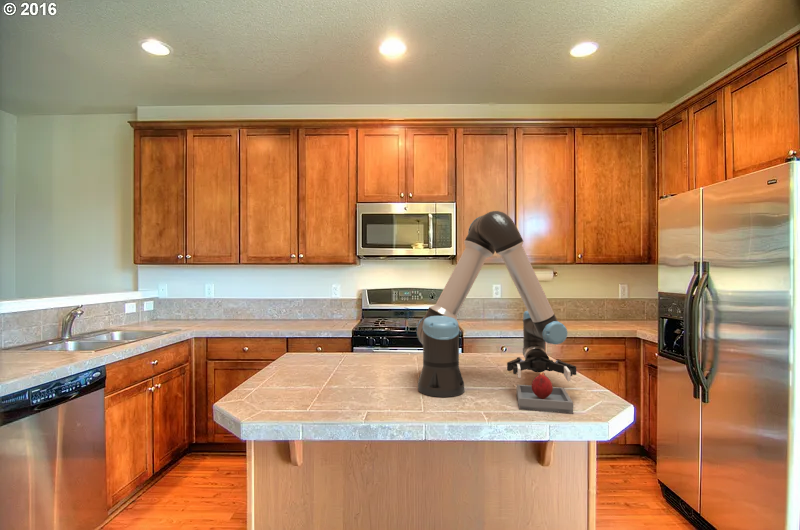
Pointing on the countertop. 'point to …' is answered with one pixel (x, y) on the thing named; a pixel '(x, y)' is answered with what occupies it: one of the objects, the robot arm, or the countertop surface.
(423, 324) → the robot arm
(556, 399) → the bin
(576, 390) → the countertop surface
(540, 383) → the onion
